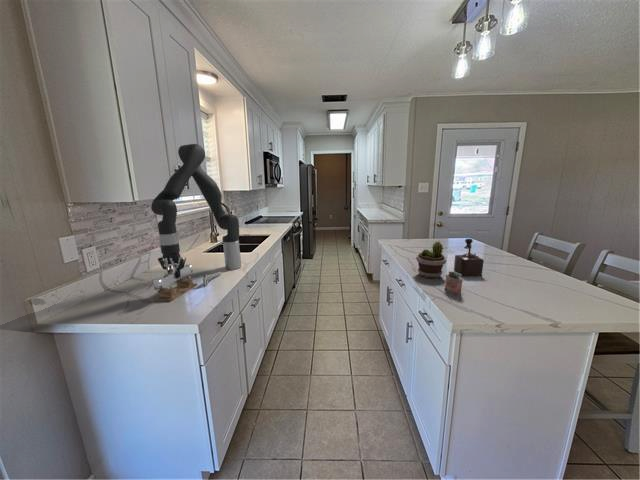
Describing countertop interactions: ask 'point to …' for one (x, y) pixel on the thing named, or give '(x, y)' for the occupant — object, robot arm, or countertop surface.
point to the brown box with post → (468, 263)
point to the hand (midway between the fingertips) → (174, 277)
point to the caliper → (209, 278)
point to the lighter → (453, 283)
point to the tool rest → (175, 290)
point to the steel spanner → (171, 277)
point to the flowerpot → (431, 262)
